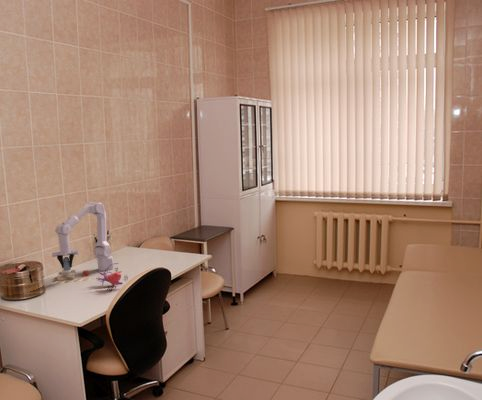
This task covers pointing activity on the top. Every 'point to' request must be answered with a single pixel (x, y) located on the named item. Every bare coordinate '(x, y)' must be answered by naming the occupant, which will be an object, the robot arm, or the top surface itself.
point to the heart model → (111, 277)
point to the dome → (66, 272)
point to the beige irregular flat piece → (71, 277)
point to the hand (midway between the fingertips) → (67, 267)
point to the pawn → (66, 264)
